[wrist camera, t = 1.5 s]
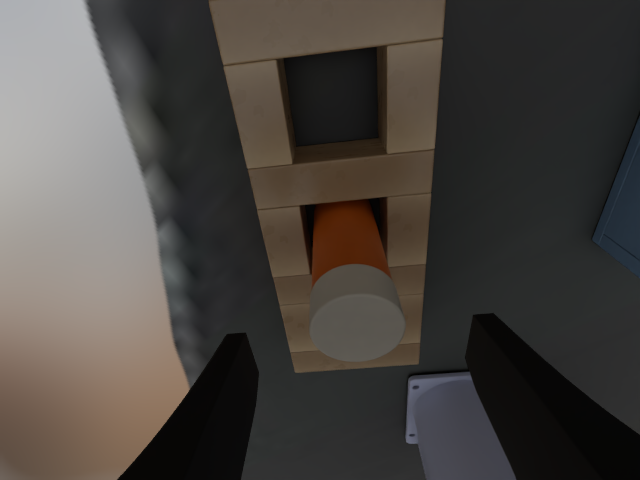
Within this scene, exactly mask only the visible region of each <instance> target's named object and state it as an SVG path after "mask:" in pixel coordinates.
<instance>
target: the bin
mask: <svg viewBox="0 0 640 480" xmlns="http://www.w3.org/2000/svg"><path fill="white" fill-rule="evenodd" d="M592 241H594V242H595V243H596V244H597V245H599V246H600V247H601V248H602V249H604V250H605V251H606V252H607V253H609V254H610V255H611V256H612V257H614V258H615V259H616V260H617V261H619V262H620V263H621V264H623V265H624V266H625V267H626V268H628V269H629V270H630V271H631V272H633V273H634V274H635V275H636V276H638V277H639V278H640V116H639V118H638V121H637V124H636V126H635V129H634V131H633V134H632V137H631V139H630V142H629V144H628V147H627V150H626V152H625V155H624V157H623V160H622V163H621V165H620V168H619V170H618V173H617V176H616V178H615V181H614V183H613V186H612V189H611V191H610V194H609V196H608V199H607V202H606V204H605V207H604V209H603V212H602V214H601V217H600V220H599V222H598V225H597V227H596V230H595V233H594V235H593V238H592Z"/></svg>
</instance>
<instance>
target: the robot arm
mask: <svg viewBox="0 0 640 480" xmlns="http://www.w3.org/2000/svg"><path fill="white" fill-rule="evenodd" d="M465 359H466V362H467V365H468V369H469V372H457V373H443V374H428V375H414V376H411V377H410V378H409V379H408V395H407V414H406V434H405V438H406V442H407V443H409V444H414V443H418V446H419V450H420V455H421V459H422V463H423V467H424V472H425V476H426V480H640V435H639V434H638V433H636V432H635V431H634V430H632V429H631V428H629V427H628V426H627V425H625V424H624V423H622V422H621V421H620V420H618V419H617V418H615V417H614V416H613V415H611V414H610V413H609V412H607V411H606V410H605V409H604V408H602V407H601V406H600V405H598V404H597V403H596V402H595V401H593V400H592V399H591V398H590V397H588V396H587V395H586V394H585V393H583V392H582V391H581V390H580V389H578V388H577V387H576V386H575V385H573V384H572V383H571V382H570V381H569V380H567V379H566V378H565V377H564V376H563V375H561V374H560V373H559V372H558V371H557V370H556V369H555V368H553V367H552V366H551V365H550V364H549V363H548V362H546V361H545V360H544V359H543V358H542V357H541V356H540V355H538V354H537V353H536V352H535V351H534V350H533V349H532V348H531V347H530V346H529V345H527V344H526V343H525V342H524V341H523V340H522V339H521V338H520V337H519V336H518V335H517V334H515V333H514V332H513V331H512V330H511V329H510V328H509V327H508V326H507V325H506V324H505V323H504V322H503V321H501V320H500V319H499V318H498V317H497V316H496V315H495V314H494V313H490V314H477V315H473V319H472V324H471V329H470V334H469V340H468V345H467V350H466V356H465ZM258 377H259V371H258V368H257V365H256V362H255V359H254V356H253V353H252V350H251V347H250V344H249V341H248V338H247V335H246V333H235V334H227V335H226V336H225V337H224V339H223V341H222V342H221V344H220V345H219V347H218V348H217V350H216V352H215V353H214V355H213V356H212V358H211V359H210V361H209V362H208V364H207V366H206V367H205V369H204V370H203V372H202V373H201V375H200V376H199V377H198V379H197V380H196V382H195V383H194V385H193V386H192V388H191V389H190V390H189V392H188V393H187V395H186V396H185V398H184V399H183V400H182V402H181V403H180V404H179V406H178V407H177V408H176V410H175V411H174V412H173V414H172V415H171V416H170V418H169V419H168V420H167V422H166V423H165V424H164V426H163V427H162V428H161V430H160V431H159V432H158V433H157V434H156V436H155V437H154V438H153V439H152V441H151V442H150V443H149V444H148V445H147V447H146V448H145V449H144V450H143V451H142V452H141V454H140V455H139V456H138V457H137V458H136V459H135V461H134V462H133V463H132V464H131V465H130V466H129V467H128V468H127V469H126V471H125V472H124V473H123V474H122V475H121V476H120V477H119V478H118V479H117V480H241V476H242V471H243V466H244V461H245V456H246V452H247V447H248V442H249V437H250V432H251V427H252V422H253V417H254V412H255V407H256V399H257V390H258Z"/></svg>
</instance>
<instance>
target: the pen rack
mask: <svg viewBox="0 0 640 480" xmlns="http://www.w3.org/2000/svg"><path fill="white" fill-rule="evenodd" d="M208 3H209V7H210V12H211V16H212V20H213V24H214V29H215V33H216V37H217V41H218V46H219V50H220V54H221V58H222V63H223V65H225V66H224V72H225V76H226V80H227V85H228V89H229V93H230V97H231V102H232V106H233V110H234V114H235V119H236V123H237V127H238V131H239V136H240V140H241V144H242V148H243V153H244V157H245V161H246V165H247V168H248V173H249V177H250V182H251V186H252V190H253V194H254V199H255V203H256V207H257V209H258V210H257V212H258V217H259V221H260V225H261V229H262V234H263V238H264V242H265V246H266V251H267V255H268V259H269V263H270V268H271V272H272V276H273V280H274V284H275V288H276V292H277V297H278V301H279V304H280V310H281V314H282V318H283V323H284V327H285V331H286V335H287V340H288V344H289V348H290V352H291V357H292V361H293V366H294V370H295V373H300V372H314V371H328V370H342V369H357V368H371V367H385V366H399V365H414V364H419V354H420V337H421V324H422V310H423V297H424V284H425V271H426V258H427V245H428V231H429V218H430V205H431V193H430V192H431V190H432V177H433V164H434V148H435V139H436V126H437V113H438V99H439V86H440V73H441V59H442V46H443V39H441V38H442V37H443V31H444V18H445V5H446V0H209V2H208ZM370 47H377V91H378V137H379V138H372V139H363V140H354V141H345V142H336V143H327V144H317V145H308V146H299V147H296V140H295V134H294V127H293V120H292V113H291V107H290V100H289V93H288V86H287V80H286V73H285V66H284V59H283V58H290V57H298V56H306V55H314V54H322V53H330V52H338V51H346V50H354V49H362V48H370ZM370 198H379V215H380V239H381V242H382V246H383V249H384V253H385V256H386V260H387V263H388V267H389V270H390V273H391V277H392V280H393V282H394V284H395V286H396V289H397V293H398V296H399V300H400V303H401V307H402V310H403V313H404V317H405V321H406V328H405V333H404V336H403V338H402V340H401V341H400V343H399V344H398V345H397V346H396V347H395V348H394V349H393V350H392V351H390V352H389V353H387V354H385V355H383V356H381V357H379V358H376V359H373V360H368V361H362V362H347V361H341V360H337V359H334V358H331V357H329V356H327V355H326V354H324V353H322V352H321V351H320V350H319V349H318V348H317V347H316V346H315V345H314V343H313V341H312V339H311V337H310V334H309V314H310V294H311V291H312V260H313V247H312V248H311V242H310V235H309V228H308V222H307V215H306V208H305V205H309V204H319V203H330V202H340V201H350V200H360V199H370Z"/></svg>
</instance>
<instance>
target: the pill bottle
mask: <svg viewBox="0 0 640 480" xmlns="http://www.w3.org/2000/svg"><path fill="white" fill-rule="evenodd" d="M405 328H406V321H405V317H404V313H403V310H402V307H401V303H400V300H399V296H398V293H397V289H396V286H395V284H394V282H393V280H392V277H391V273H390V270H389V267H388V263H387V260H386V256H385V253H384V249H383V246H382V242H381V239H380V235H379V232H378V228H377V225H376V221H375V218H374V214H373V211H372V207H371V204H370V202H369V200H368V199H360V200H350V201H340V202H330V203H319V204H316V206H315V209H314V227H313V260H312V291H311V294H310V314H309V334H310V337H311V339H312V341H313V343H314V345H315V346H316V347H317V348H318V349H319V350H320V351H321V352H322V353H324V354H326V355H327V356H329V357H331V358H334V359H337V360H341V361H347V362H362V361H368V360H373V359H376V358H379V357H381V356H383V355H385V354H387V353H389V352H390V351H392V350H393V349H394V348H395V347H396V346H397V345H398V344H399V343H400V341H401V340H402V338H403V336H404V333H405Z"/></svg>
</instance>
